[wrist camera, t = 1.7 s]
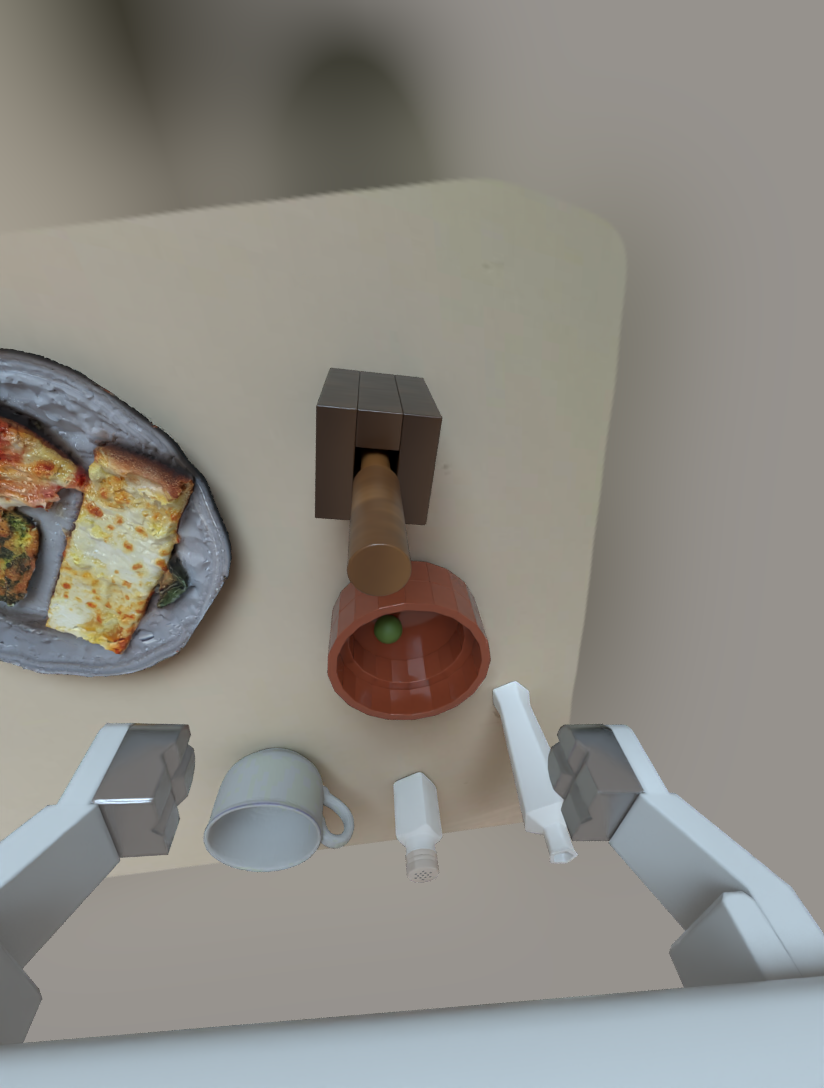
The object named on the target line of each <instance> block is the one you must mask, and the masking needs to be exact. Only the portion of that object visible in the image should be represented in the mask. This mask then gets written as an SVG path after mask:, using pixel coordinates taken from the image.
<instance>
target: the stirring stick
mask: <svg viewBox="0 0 824 1088" xmlns="http://www.w3.org/2000/svg"><path fill="white" fill-rule="evenodd" d="M411 569H412V568H411V560H410V553H409V546H408V539H407V532H406V525H405V518H404V511H403V504H402V498H401V491H400V484H399V480H398V478H397V476H396V474H395V473H394V472H393V471H392V470H390V461H389V452H388V450H384V449H372V448H362V449H361V471H359V472H358V474H357V475H356V476H355V478H354V481H353V488H352V503H351V518H350V532H349V547H348V562H347V574H348V578H349V580H350V582H351V583H352V584H353V586H354V587H355V588H356V589H358V590H359V591H361V592H362V593H365V594H367V595H371V596H386V595H390V594H393V593H395V592H397V591H399V590H400V589H401V588H403V587H404V586H405V584H406V583H407V582H408V580H409V578H410V575H411Z"/></svg>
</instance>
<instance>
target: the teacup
mask: <svg viewBox="0 0 824 1088" xmlns="http://www.w3.org/2000/svg"><path fill="white" fill-rule="evenodd" d="M323 805H325V806H327V807H329V808H330V809H332V810H333V811H334V812H336V813H337V814H338V815H339V817H340V818H341V819H342V821H343V824H344V831H343V832H342V834H339V835H335V834H332V833H331V832H330V831H329V830H328V828H327V826H326V822H325V818H324V817H323V815H322V812H323ZM353 830H354V819H353V815H352V813H351V811H350V810H349V808H348V807H347V806H346V805H345V804H344V803H343V802H342V801H340V800H339V799H338V798H336V797H335V796H333V795H332V794H331V793H330V792H329V790H328V788H327V787H326V786H323V783H322V779H321V775H320V773H319V771H318V769H317V768H316V767H315V765H314V764H313V763H312V762H310V761H309V760H308V759H306V758H305V757H303V756H302V755H301V754H299V753H297V752H295V751H292V750H289V749H283V748H270V749H264V750H261V751H258V752H256V753H253V754H250V755H248V756H246V757H244V758H242V759H241V760H239V761H238V762H237V763H235V764H234V765H233V766H232V768H231V769H230V770H229V771H228V773H227V774H226V776H225V778H224V780H223V782H222V784H221V786H220V789H219V792H218V795H217V798H216V801H215V804H214V807H213V810H212V813H211V817H210V820H209V824H208V825H207V827H206V829H205V832H204V844H205V847H206V849H207V851H208V852H209V853H210V854H211V855H212V856H213V857H214V858H215V859H217V860H218V861H220V862H222V863H223V864H225V865H228V866H230V867H234V868H237V869H240V870H246V871H254V872H270V871H279V870H283V869H287V868H291V867H294V866H296V865H299V864H301V863H303V862H304V861H306V860H307V859H309V858H310V857H311V856H312V855H313V854H314V853H315V852H316V850H317V849H318V847H319V845H320V843H322V844H323V845H325V846H327V847H329V848H333V849H334V848H340V847H342V846H344V845H345V844H347V843H348V841H349V840H350V838H351V836H352V834H353Z"/></svg>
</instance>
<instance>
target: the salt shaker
mask: <svg viewBox="0 0 824 1088" xmlns="http://www.w3.org/2000/svg"><path fill="white" fill-rule="evenodd" d="M394 806H395V827H396V837H397V839H398V841H399V842H400V843H401V844H402V845H403V846H404V847H406V867H407V868H406V870H407V877H408V879H409V880H410V881H413V882H418V883H423V882H428V881H431V880H433V879H435V878H437V876H438V874H439V868H438V861H437V852H436V850H435V844H437V843H438V842H439V841H440V840H441V839H442V829H441V821H440V813H439V806H438V798H437V790H436V786H435V785H434V784H433V783H432V782H431V781H430V780H429V779H428V778H427V777H426V776H425V775H424V774H423V773H421V772H418V773H415V774H413V775H410V776H408V777H405V778H403V779H401V780H398V781H396V782H395V783H394Z"/></svg>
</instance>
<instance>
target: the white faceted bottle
mask: <svg viewBox="0 0 824 1088" xmlns="http://www.w3.org/2000/svg"><path fill="white" fill-rule="evenodd" d="M493 704H494V706H495V708H496V709H497V711H498V712H499V714H500V716H501V721H502V726H503V730H504V735H505V739H506V744H507V748H508V753H509V758H510V762H511V767H512V771H513V776H514V781H515V785H516V790H517V794H518V799H519V803H520V808H521V813H522V817H523V822H524V826H525V831H526V832H530V833H535V834H541V835H544V838H545V842H546V845H547V848H548V851H549V855H550V863H568V862H570V861H571V860H572V859H573V858H575V857H576V856H577V855H578V853H577V852H575V851H574V848H573V845H572V842H571V839H570V837H569V834H568V831H567V826H566V823H565V820H564V817H563V815H562V812H561V807H562V804H563V800H564V799H562V798H561V797H560V796H559V795H558V794H557V793H556V792H555V791H554V790H553V787H552V784H551V781H550V778H549V772H548V755H549V752H550V750H551V749H550V747H549V745H548V743H547V741H546V738H545V736H544V734H543V732H542V730H541V728H540V725H539V723H538V721H537V719H536V717H535V715H534V712H533V710H532V708H531V706H530V698H529V691H528V690H527V689H526V688H524V687H523V686H522V685H520V684H519V683H518V682H516V681H514V682H511V683H508V684H506V685H503V686H501V687H498V688H495V689H494V690H493Z"/></svg>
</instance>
